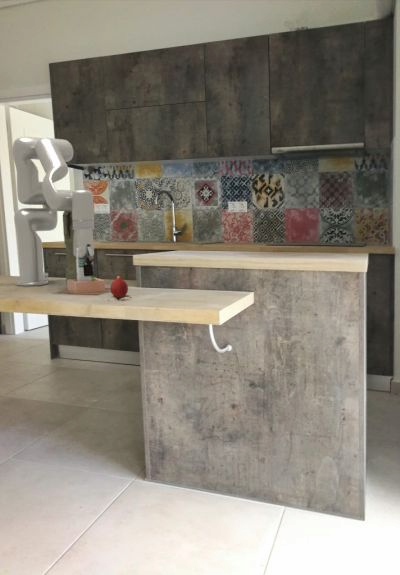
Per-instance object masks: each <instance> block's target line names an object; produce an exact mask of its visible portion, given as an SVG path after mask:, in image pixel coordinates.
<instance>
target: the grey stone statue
mask: <svg viewBox="0 0 400 575" xmlns="http://www.w3.org/2000/svg"><path fill="white" fill-rule="evenodd" d="M62 225H63V226H62V227H63V240H64V245H65V256H66V258H65V260H66V268H65V281H66V282H65V283H67V280H68V279H77V268H76V256H74V254H73V237H74V230H73V222H72V211H63V213H62Z"/></svg>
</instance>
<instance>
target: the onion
mask: <svg viewBox="0 0 400 575" xmlns="http://www.w3.org/2000/svg"><path fill="white" fill-rule="evenodd" d="M128 287H129V286H128V284H127V282H126V281H125V280H124V279H123V278H121V276H119V275H117V276H116V279H114V280H113V281H112V282H111V284H110V288H111V289H110V290H111V291H110V293H111V294H112V296H113V297H115V298H116V299H117V300H119V301H120V300H121V299H123V298H124V297H125V296H126V295H127V293H128V291H129V288H128Z"/></svg>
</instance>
